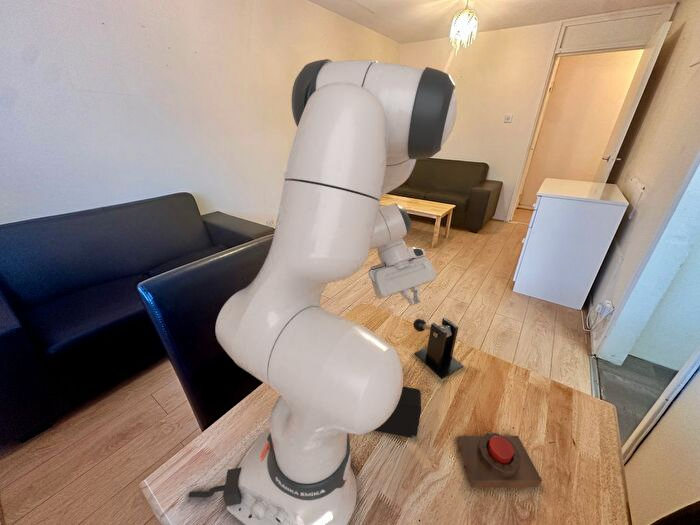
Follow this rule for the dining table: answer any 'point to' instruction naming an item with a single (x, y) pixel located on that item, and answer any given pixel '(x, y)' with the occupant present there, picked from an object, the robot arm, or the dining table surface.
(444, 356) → the bracket
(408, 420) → the electronic device
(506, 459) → the button
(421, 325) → the lever
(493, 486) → the button block
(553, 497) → the dining table surface
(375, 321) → the dining table surface
